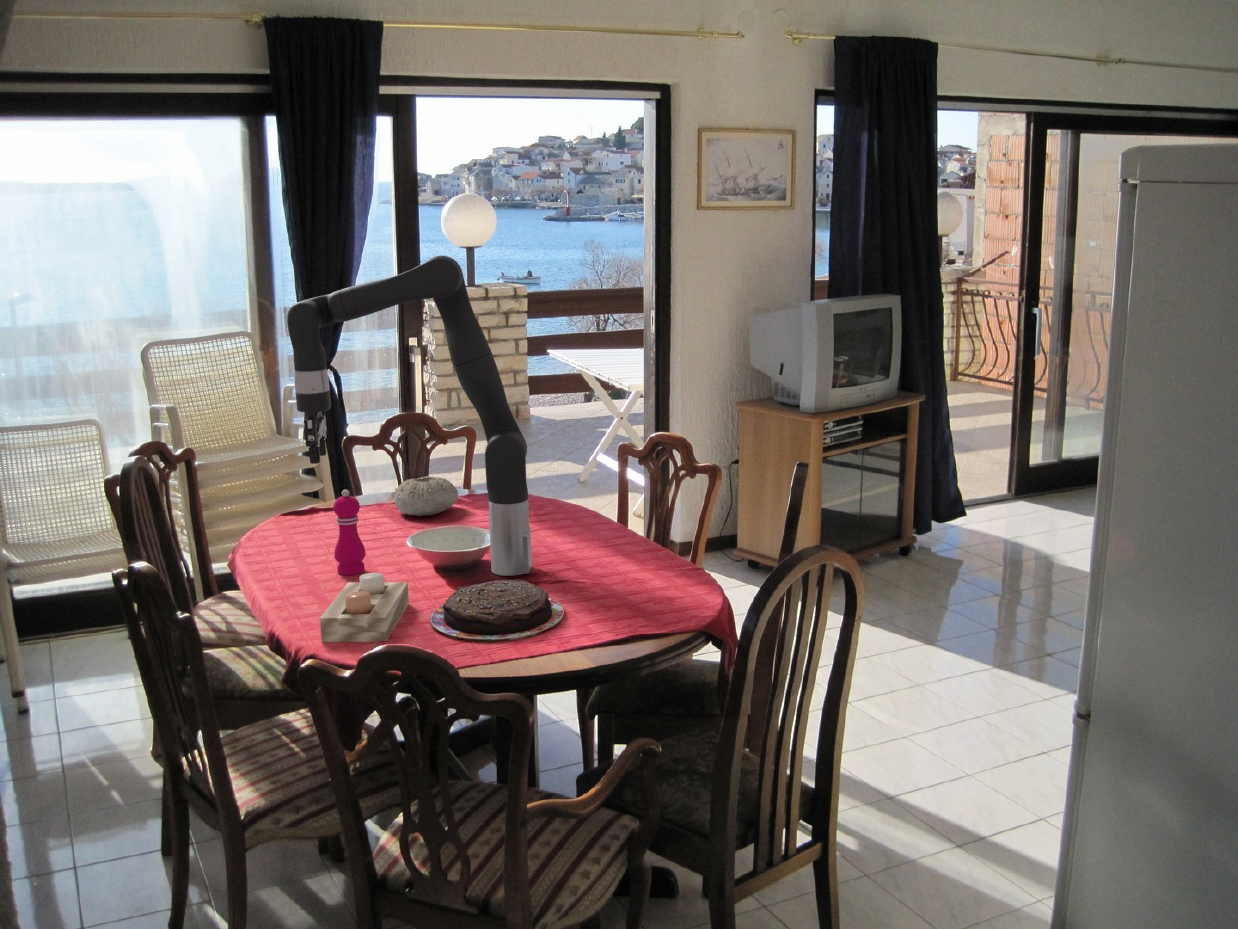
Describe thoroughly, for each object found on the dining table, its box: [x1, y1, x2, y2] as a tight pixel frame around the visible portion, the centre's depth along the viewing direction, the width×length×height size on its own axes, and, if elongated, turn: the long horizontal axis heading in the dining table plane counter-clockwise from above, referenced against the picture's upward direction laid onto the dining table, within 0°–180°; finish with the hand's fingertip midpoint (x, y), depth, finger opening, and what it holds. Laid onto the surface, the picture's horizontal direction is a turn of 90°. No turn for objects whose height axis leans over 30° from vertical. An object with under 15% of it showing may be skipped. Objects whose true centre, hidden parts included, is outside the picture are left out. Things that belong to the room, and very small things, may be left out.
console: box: [319, 581, 410, 643], centre depth 243 cm, size 13×22×5 cm, turn 178°
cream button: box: [359, 572, 385, 594], centre depth 248 cm, size 5×5×3 cm
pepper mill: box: [333, 489, 366, 577], centre depth 275 cm, size 7×7×20 cm
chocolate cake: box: [429, 578, 565, 644], centre depth 244 cm, size 28×28×7 cm
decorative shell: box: [393, 475, 459, 517], centre depth 327 cm, size 18×18×10 cm
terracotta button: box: [345, 591, 371, 614], centre depth 236 cm, size 5×5×3 cm
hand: (318, 459), depth 268 cm, fingers open, 8 cm apart
